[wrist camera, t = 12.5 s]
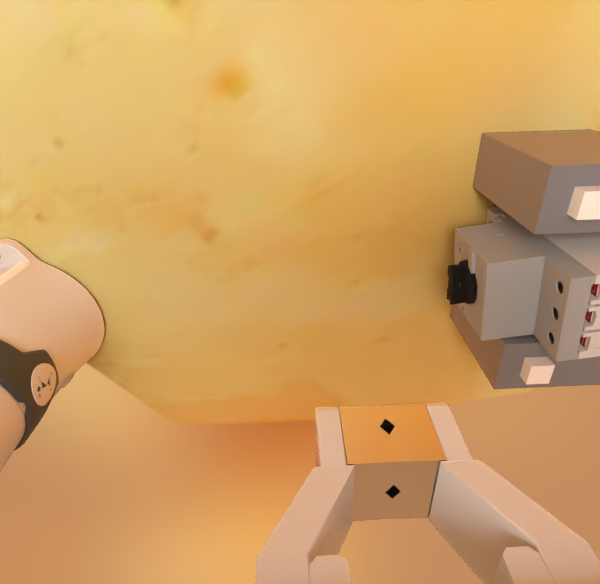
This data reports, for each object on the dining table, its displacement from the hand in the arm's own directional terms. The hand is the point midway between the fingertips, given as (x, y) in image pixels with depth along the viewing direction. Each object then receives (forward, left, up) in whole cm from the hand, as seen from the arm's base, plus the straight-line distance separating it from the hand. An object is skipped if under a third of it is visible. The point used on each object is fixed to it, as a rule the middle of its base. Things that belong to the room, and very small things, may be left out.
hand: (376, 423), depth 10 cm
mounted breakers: (+21, -10, -34) cm, 41 cm away
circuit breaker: (+19, -11, -34) cm, 41 cm away
